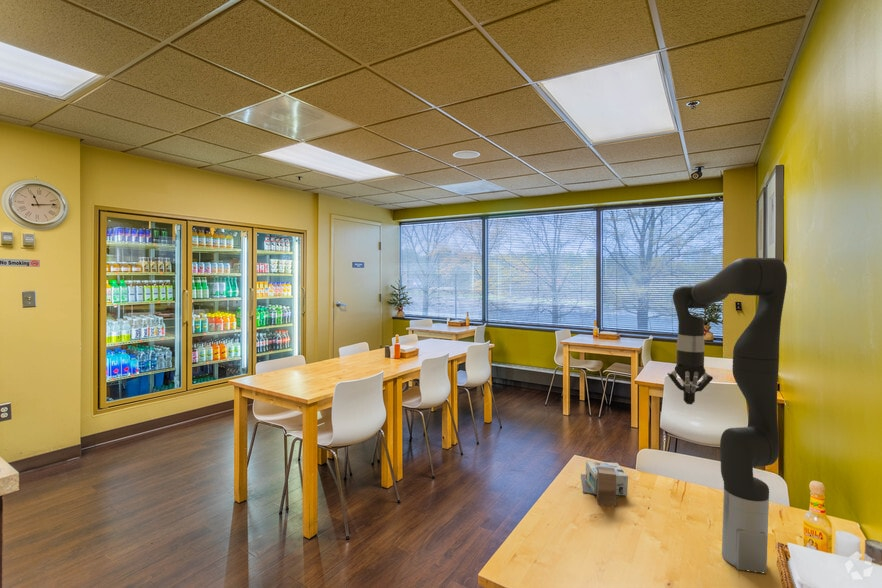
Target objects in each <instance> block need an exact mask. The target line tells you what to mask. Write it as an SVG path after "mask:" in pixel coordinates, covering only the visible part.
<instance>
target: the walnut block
mask: <svg viewBox="0 0 882 588" xmlns="http://www.w3.org/2000/svg"><path fill="white" fill-rule="evenodd" d="M616 499H617V497H616V473H615V470H614V468H607V467H598V466H597V495H596V500H597V505H598V506H605V507H612V506H615V507H616V504H617V503H616Z"/></svg>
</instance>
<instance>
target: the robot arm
mask: <svg viewBox="0 0 882 588" xmlns="http://www.w3.org/2000/svg"><path fill="white" fill-rule="evenodd" d="M787 274H788V273H787V267H786V265H785V263H784V261H783V260H781V259H779V258H778V257H741V258H738V259H736V260H734V261H732V262H730V263H729V264H727V265H726V266H725V267H724V268H722V270H720V271H718V272H717V273H716V274H715V275H713V276H711V277H709V278H707V279H703V280H701V281H699V282H697V283H696V284H695V285H679V286H677V287H676V288H675V289H674V291H673V293H672V300H673V301H672V302H673V305H674V308H675V312H676V314H677V315H676V316H677V321H678V323H677V324H678V326H677V327H678V330H677V331H678V333H677V339H676V365H675V366H674V370H673V371H670V372H667V376H668V378H669V379H670V380H671V381H672V383H673V384H674V385H675V387H677V388H678V390H680V391H683V402H685V404H686V405H693V404H694V403H695V401H696V400H695V399H696V393H697V392H702V391H703V390H704V389H705V388H706V387H707V386H708V384H710V382H712V381H713V380H714V378H713V376H712V375H710V374H709V373H707V372H706V368H705V338H704V337H705V320H704V318H703V317H701V316H698V315H693V314H691V313H690V310H689V309H706V308H709V307H710V306H711V305H712V304H714V303H718V302H721V301H723V300H725V299H726V298H727V297H728V296H729V295H730V294H732V295H742V296H754V297H755V296H758V302H757V308H756V311H755V314H754V316H753V318H752V320H751V322H750V323H749V324H748V325H747V327H746V328H745V329H744V330H743V332H742V333H741V335H740V336H739V337H738V338H737V340H736V342H735V344H734V346H733V350H732V375H733V378H734V380H735V383H736V384H737V386H738V388H739V390H740V392H741V394H742V396H743V397H744V399H745V401H746V403H747V410H748V421H747V422H748V423H747V426H746V427H745V426H743V427H741V426H740V427H729V428H726V429H725V430H724V431H723V432H722V434H721V437H720V442H719V456H720V457H719V458H720V474H721V477H722V481H723V499H722V501H723V505H722V507H723V508H722V529H721V530H722V532H721V533H722V534H721V539H722V540H721V541H722V542H721V555H722V557H723V559H724V560H725V561H726V562H727V563H729V564H731V565H732V566H733V567H735V568H736V570H738V571H744V570H749V571H748V572H750V571H756V572H755V573H757V572H764V573H766V574H767V567H768V544H769V543H768V539H769V538H768V537H769V536H768V535H769V508H770V506H769V505H770V487H769V486H768V484H767V483H766V482H764V481H763V480H761V479H759V478H757V477H754V470H753V468H754V467H755V468H756V467H768V466H771V465H773V464H775V463H776V461H777V460H778V458H779V455H780V454H779V453H780V437H779V435H780V433H779V420H778V383H779V382H778V380H779V379H778V378H779V369H780V337H781V336H780V335H781V322H782V316H783V315H782V314H783V309H784V304H785V303H784V302H785V297H786V291H787V284H788V275H787ZM678 377H679V378H680V379H681V381H682V384H681V383H680V381H679V380H678V379H677V378H678ZM701 378H702V379H701ZM699 380H700V381H699Z"/></svg>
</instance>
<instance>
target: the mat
mask: <svg viewBox="0 0 882 588" xmlns="http://www.w3.org/2000/svg"><path fill="white" fill-rule="evenodd" d="M585 476H586V473H585V474H584V473H583V474H582V473H581V474H580V478H581V486H582V491H583V494H587V495H595V496H597V494H594V493H593V491H592V489H591V488H590V486H589V485H588V483H587V482H586V480H585ZM618 497H619V498H620V495H616V498H618Z"/></svg>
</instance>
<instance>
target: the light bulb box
mask: <svg viewBox="0 0 882 588" xmlns="http://www.w3.org/2000/svg"><path fill="white" fill-rule="evenodd" d="M597 466H598V467H607V468H614V470H615V473H616V495H619V496H628V486H629V485H628V484H629V475H628V474H627V473H626V472H625V470H624V469H623V468H622V466H620V464H619V463H618V462H603V461H600V462H599V461H586V463H585V475H586V476H585V480H586V482H587V483H588V485H589V486H590V488H591V489H592V491H593V493H594V494H597ZM594 494H593V495H594Z"/></svg>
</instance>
